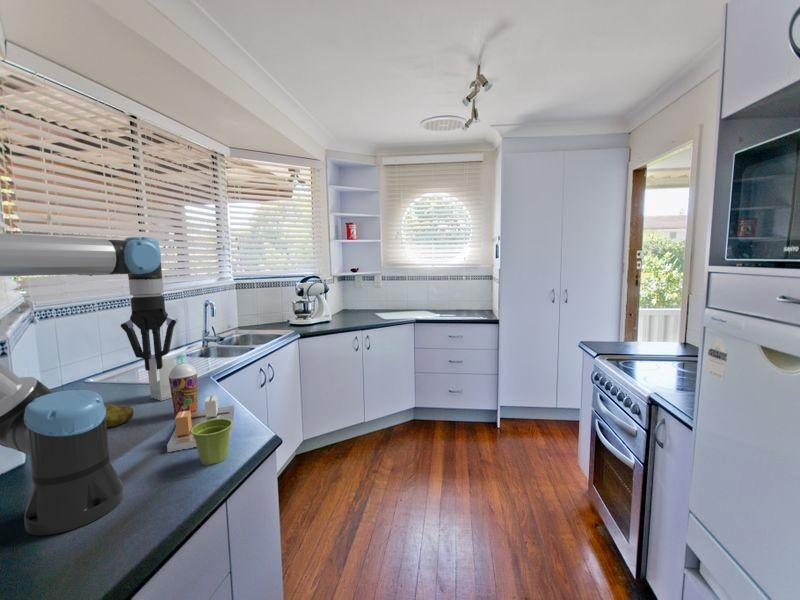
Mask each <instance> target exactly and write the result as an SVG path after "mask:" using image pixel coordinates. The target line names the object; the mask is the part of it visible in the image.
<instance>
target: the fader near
mask: <svg viewBox="0 0 800 600" xmlns="http://www.w3.org/2000/svg"><path fill="white" fill-rule="evenodd" d="M174 420H175V429H176V434H177V436H179V435H185V434H189V433H190V430H191V428H192V423H191V411H190V410H189V411H182V412H178V414H177V415H176V416H175V418H174Z"/></svg>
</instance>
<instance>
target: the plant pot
mask: <svg viewBox="0 0 800 600" xmlns="http://www.w3.org/2000/svg"><path fill="white" fill-rule="evenodd" d="M233 423H234V422H233ZM233 423H232V421H231V420H229V419H213V420H208V421H204V422H202V423H199V424H197V425H195V426H194V427H193V428H192V429H191V433H192V434H193V436H194V438H195V440H196V444H197V448H196V449H197V453H198V456H199V457H198V458H199V461H200V463H201V464H203V465H206V466H210V465H212V464H219V463H222V462H223V461H225V460H226V459H227V457H228V453H229V443H230V442H229V432H230V429H231V426H232V427H233Z"/></svg>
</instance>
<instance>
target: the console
mask: <svg viewBox="0 0 800 600" xmlns="http://www.w3.org/2000/svg"><path fill="white" fill-rule="evenodd" d="M234 415H235V406H234V405H231V406H224V407H218V413H217V416H213V417H207V418H206V413H205V409H204V410H196V411H195V412H191V423H192V428H193V427H194V426H195V425H197V424H199V423H202V422H204V421H208V420H213V419H229V420H231V421H232V423H234ZM192 428H191V429H192ZM232 429H233V425H232V426H231V429H230V432H229V441H231V437H230V436H232ZM193 447H197V444H196V440H195V438H194V436H193V434H192V433H191V430H190V433H189V434H185V435H179V436H177V434H176V428H175V429H174V431H173V432H172V435H171V436H170V439H169V441H168V443H167V444H166V450H167V453H168V452H169V453H173V452H172V451H175V452H177V451H176V450H180V451H183V450H182V449H186V450H189V449H188V448H191V449H194V448H193Z"/></svg>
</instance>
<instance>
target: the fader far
mask: <svg viewBox="0 0 800 600" xmlns="http://www.w3.org/2000/svg"><path fill="white" fill-rule="evenodd" d="M205 397H206V398H205V400H204V410H205V413H206V418H207V417H213V416H217V413H218V408H219V407H218V403H219V402H218V396H217V395H211V396H205Z"/></svg>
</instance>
